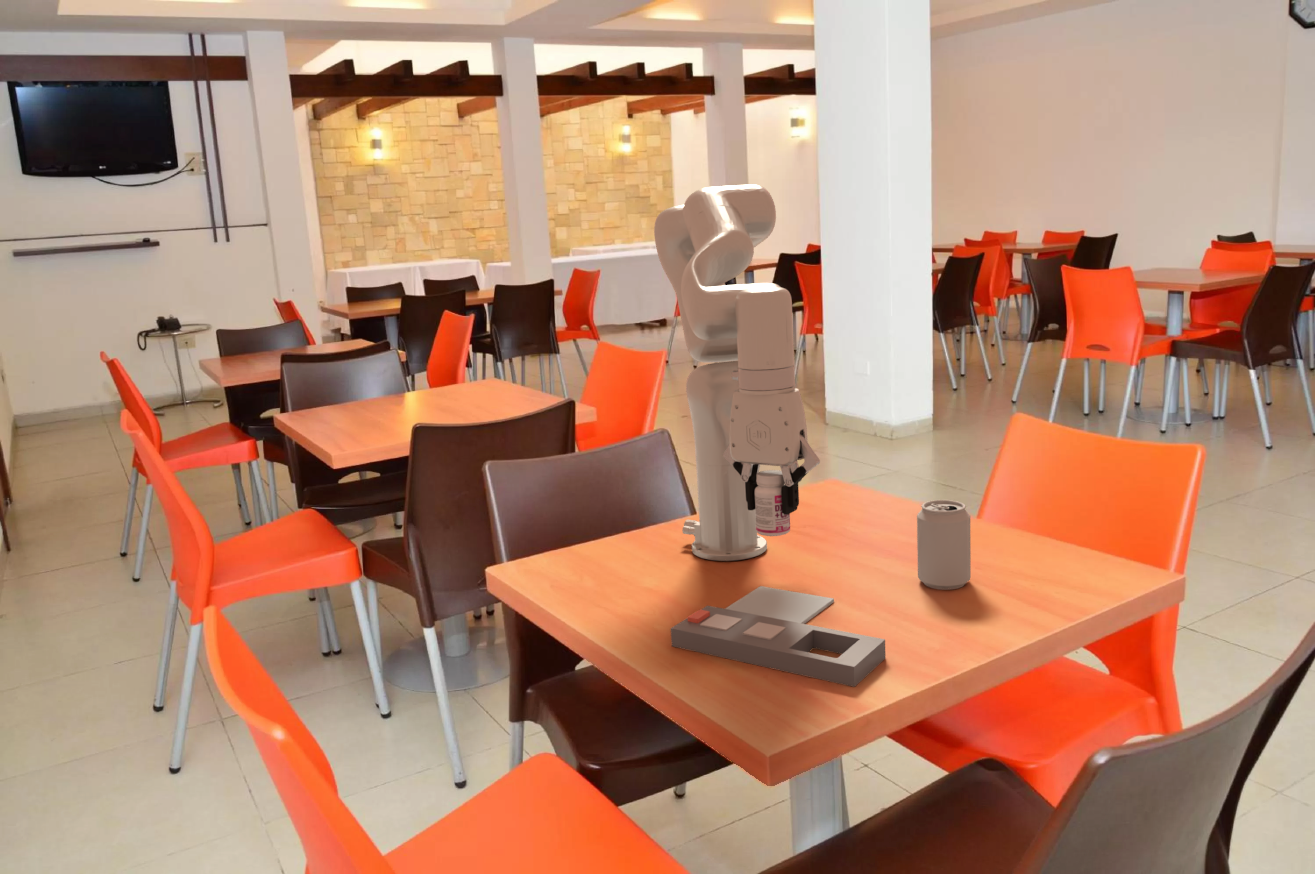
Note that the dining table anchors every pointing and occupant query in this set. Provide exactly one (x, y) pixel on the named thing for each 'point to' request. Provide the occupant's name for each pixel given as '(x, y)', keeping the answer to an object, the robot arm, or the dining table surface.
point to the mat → (781, 604)
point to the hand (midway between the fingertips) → (772, 508)
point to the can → (943, 544)
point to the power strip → (779, 644)
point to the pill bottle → (770, 504)
